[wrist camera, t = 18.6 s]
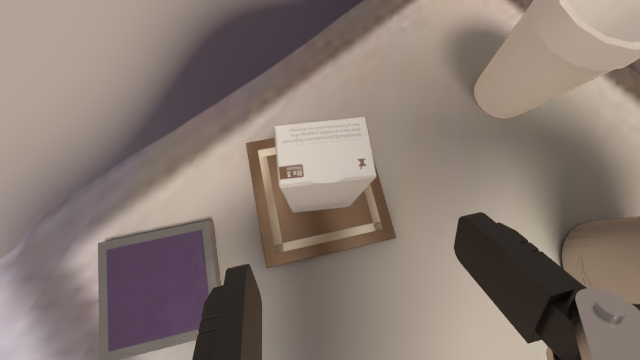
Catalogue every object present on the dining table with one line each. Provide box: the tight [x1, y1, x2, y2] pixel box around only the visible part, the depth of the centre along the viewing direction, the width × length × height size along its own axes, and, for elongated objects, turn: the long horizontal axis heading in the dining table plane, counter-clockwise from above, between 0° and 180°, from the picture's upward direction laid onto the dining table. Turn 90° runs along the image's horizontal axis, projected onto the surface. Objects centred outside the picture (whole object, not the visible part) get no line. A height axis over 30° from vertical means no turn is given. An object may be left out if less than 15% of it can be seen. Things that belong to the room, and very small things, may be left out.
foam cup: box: [474, 0, 640, 119], centre depth 27 cm, size 10×9×13 cm
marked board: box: [246, 138, 396, 268], centre depth 28 cm, size 13×13×1 cm
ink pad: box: [98, 220, 221, 360], centre depth 25 cm, size 10×10×1 cm
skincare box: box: [274, 117, 376, 213], centre depth 22 cm, size 6×4×12 cm
